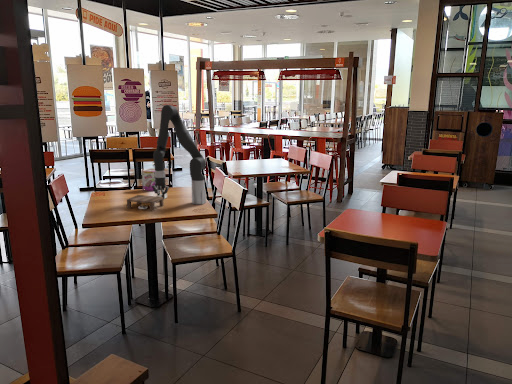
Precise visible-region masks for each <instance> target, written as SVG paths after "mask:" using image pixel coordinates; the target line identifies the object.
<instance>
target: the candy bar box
mask: <svg viewBox="0 0 512 384" xmlns="http://www.w3.org/2000/svg"><path fill="white" fill-rule="evenodd" d="M141 185H142V186H141V187H142V191H143V190H144V189H145V190H147V192H154V190H153V188H152V186H154V185H155V169H154V170H153V169H152V170H150V169H143V170H141ZM156 189H157V188H156Z"/></svg>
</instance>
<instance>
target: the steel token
mask: <svg viewBox="0 0 512 384" xmlns="http://www.w3.org/2000/svg"><path fill="white" fill-rule="evenodd" d="M137 208H138V210H141V209H143V210H147V209H148V206H147V205H143V204H140V205H139V206H138V207H137Z"/></svg>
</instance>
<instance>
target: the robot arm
mask: <svg viewBox="0 0 512 384" xmlns="http://www.w3.org/2000/svg"><path fill="white" fill-rule="evenodd" d="M159 122H160V124H159V125H160V126H159V132H158V135H157V140H156V149H155V150H154V151H153V155H152V156H153V162H154V170H155V185H154V186H152V188H153V190H154V191H153V192H154V194H156V196H158V195H160V194H162V197H163V200H165V199H166V198H165V197H164V194H166V193H167V194H168V191H169V189H170V186H168V185H166V181H167V180H166V171H165V169H166V167H165V163H164V157H165V154H166V150H167V144H168V140H169V124H170V122H171V123H172V126H173V127H174V133H175V137H176V139H177V140H178V142H179V144H180V146H181V147H182V148H184V149H185V151H186V152H188V153H189V155H190V156H191V158H192V159H191V160H190V161H189V175H190V178H191V204H193V205H204V204H206V203H207V193H206V192H207V191H206V187H205V185H206V183H205V175H203V173H202V170H204V169H205V168H206V166H207V161H206V159H205V158H204V156H203V155H202V153H201V151H200V150H199V148H198V147H197V144H196V143H195V141H194V140H193V138H192V136H191V133H190V131H188V129H187V127H186V125H185V124H184V122H183V120H182V117H181V115H180V113H179V111H178V109H177V107H176V106H174V105H171V104H165V105H163V106H162V108H161V111H160V121H159ZM156 188H157V189H156ZM164 198H165V199H164Z"/></svg>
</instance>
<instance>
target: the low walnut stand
mask: <svg viewBox="0 0 512 384" xmlns="http://www.w3.org/2000/svg"><path fill="white" fill-rule="evenodd" d="M155 196H156V195H155ZM155 196H154V195H153V196H152V195H144V194H143V195H142V194H137V195H135V196H132V197H129V198H127V199H126V208H127V209H132V203H136V204H137V205H142V204H143V203H150V206H149V207H150V212H151V211H152V212H153V211H155V209H156V207H155V204H156V203H158V202H159V207H164V206H165V205H164V204H165V203H164V199H163V197H155ZM155 202H156V203H155Z"/></svg>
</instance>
